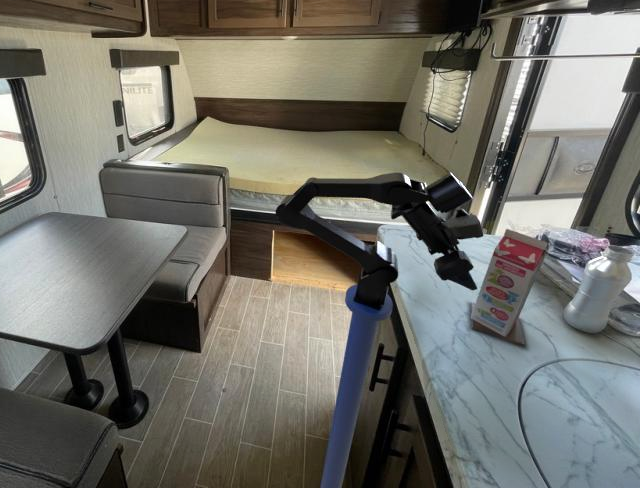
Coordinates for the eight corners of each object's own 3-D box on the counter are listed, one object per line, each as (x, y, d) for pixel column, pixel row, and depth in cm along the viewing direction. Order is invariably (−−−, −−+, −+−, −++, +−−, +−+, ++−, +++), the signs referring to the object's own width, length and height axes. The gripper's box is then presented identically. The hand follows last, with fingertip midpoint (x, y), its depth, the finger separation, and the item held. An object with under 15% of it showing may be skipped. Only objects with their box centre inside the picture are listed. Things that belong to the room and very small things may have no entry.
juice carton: (481, 305, 76) (511, 224, 68) (516, 323, 71) (553, 237, 63) (469, 317, 73) (500, 233, 65) (505, 337, 68) (543, 248, 60)
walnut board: (471, 328, 71) (472, 326, 71) (470, 304, 78) (471, 302, 78) (523, 347, 66) (525, 344, 66) (517, 320, 73) (519, 317, 73)
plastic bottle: (610, 339, 69) (656, 260, 61) (574, 335, 69) (615, 257, 62) (585, 317, 74) (624, 243, 67) (552, 313, 75) (587, 240, 68)
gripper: (474, 222, 58) (527, 287, 59) (452, 188, 74) (494, 239, 75) (416, 250, 64) (465, 309, 64) (407, 212, 80) (447, 260, 80)
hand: (469, 276), depth 71 cm, fingers open, 9 cm apart
